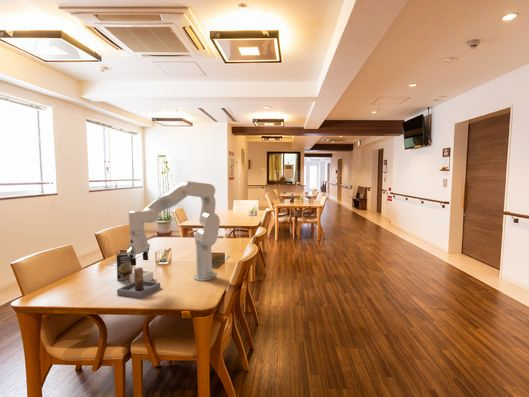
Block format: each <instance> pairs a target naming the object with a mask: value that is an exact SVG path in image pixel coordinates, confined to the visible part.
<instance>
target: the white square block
mask: <svg viewBox="0 0 529 397" xmlns="http://www.w3.org/2000/svg"><path fill="white" fill-rule="evenodd" d="M152 280H154V271H153V270H146V269H143V281H150V282H151V281H152ZM134 281H135V279H134V272H133V273H132V274H130V279H129V283H132V282H134Z"/></svg>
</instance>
